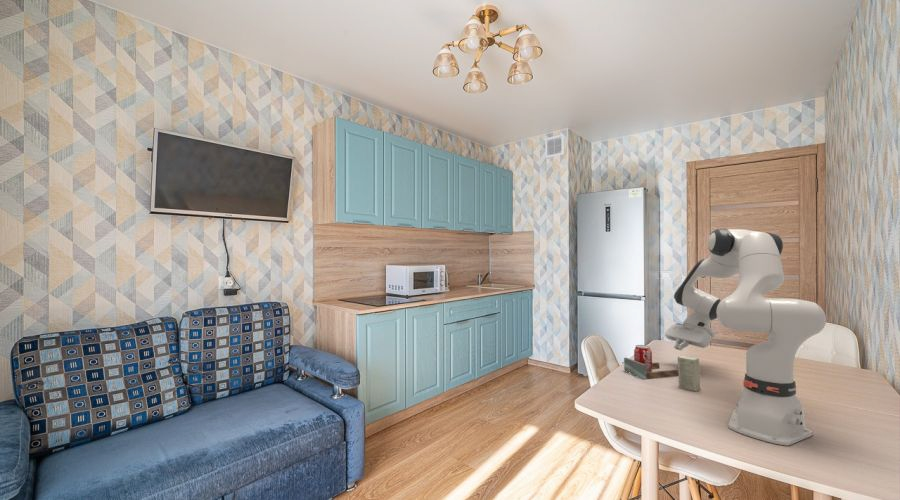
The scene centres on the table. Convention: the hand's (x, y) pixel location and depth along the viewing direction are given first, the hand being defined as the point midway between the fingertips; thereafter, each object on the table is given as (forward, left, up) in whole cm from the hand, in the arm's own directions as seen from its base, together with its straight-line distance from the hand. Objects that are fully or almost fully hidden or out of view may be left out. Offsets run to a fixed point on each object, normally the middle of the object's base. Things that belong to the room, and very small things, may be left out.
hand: (677, 348), depth 166 cm
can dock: (-13, +6, -10) cm, 17 cm away
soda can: (-16, +8, -10) cm, 20 cm away
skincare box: (-20, -12, -10) cm, 26 cm away
